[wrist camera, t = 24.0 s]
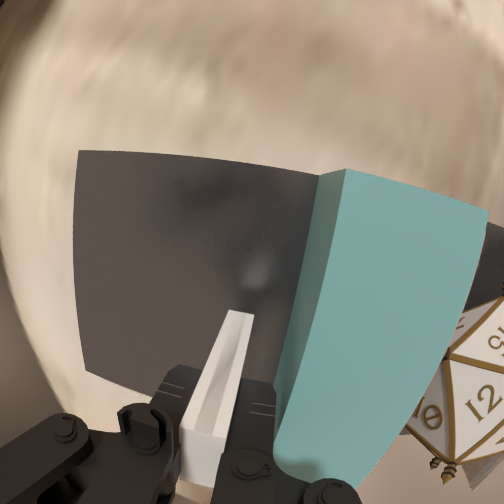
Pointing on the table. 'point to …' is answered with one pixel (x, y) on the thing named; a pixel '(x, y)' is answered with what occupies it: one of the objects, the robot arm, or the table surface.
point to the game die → (466, 393)
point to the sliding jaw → (369, 320)
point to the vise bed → (202, 265)
